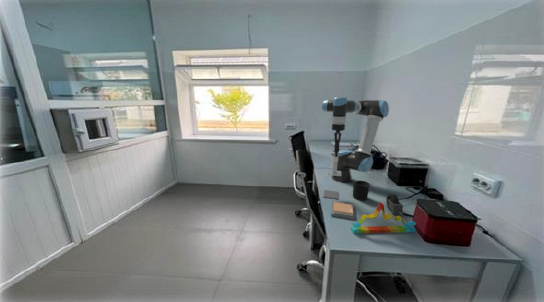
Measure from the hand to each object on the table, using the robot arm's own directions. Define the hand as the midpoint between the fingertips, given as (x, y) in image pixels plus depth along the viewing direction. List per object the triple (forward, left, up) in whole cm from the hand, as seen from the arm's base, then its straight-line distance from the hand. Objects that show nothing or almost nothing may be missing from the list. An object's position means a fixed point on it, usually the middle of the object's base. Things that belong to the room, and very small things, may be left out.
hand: (335, 160), depth 131 cm
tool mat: (-1, -1, -24) cm, 24 cm away
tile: (+15, +6, -22) cm, 27 cm away
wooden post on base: (0, 0, -9) cm, 9 cm away
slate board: (+18, +6, -24) cm, 31 cm away
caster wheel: (+10, +34, -24) cm, 43 cm away
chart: (+32, +24, -25) cm, 47 cm away
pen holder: (-3, +17, -24) cm, 30 cm away
